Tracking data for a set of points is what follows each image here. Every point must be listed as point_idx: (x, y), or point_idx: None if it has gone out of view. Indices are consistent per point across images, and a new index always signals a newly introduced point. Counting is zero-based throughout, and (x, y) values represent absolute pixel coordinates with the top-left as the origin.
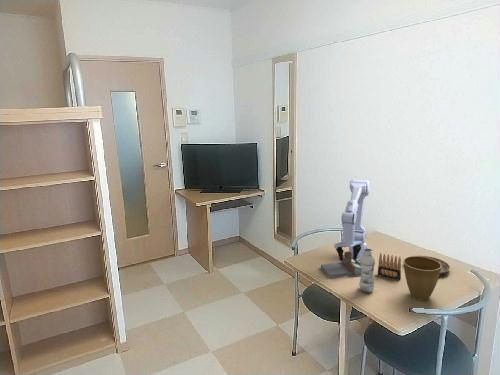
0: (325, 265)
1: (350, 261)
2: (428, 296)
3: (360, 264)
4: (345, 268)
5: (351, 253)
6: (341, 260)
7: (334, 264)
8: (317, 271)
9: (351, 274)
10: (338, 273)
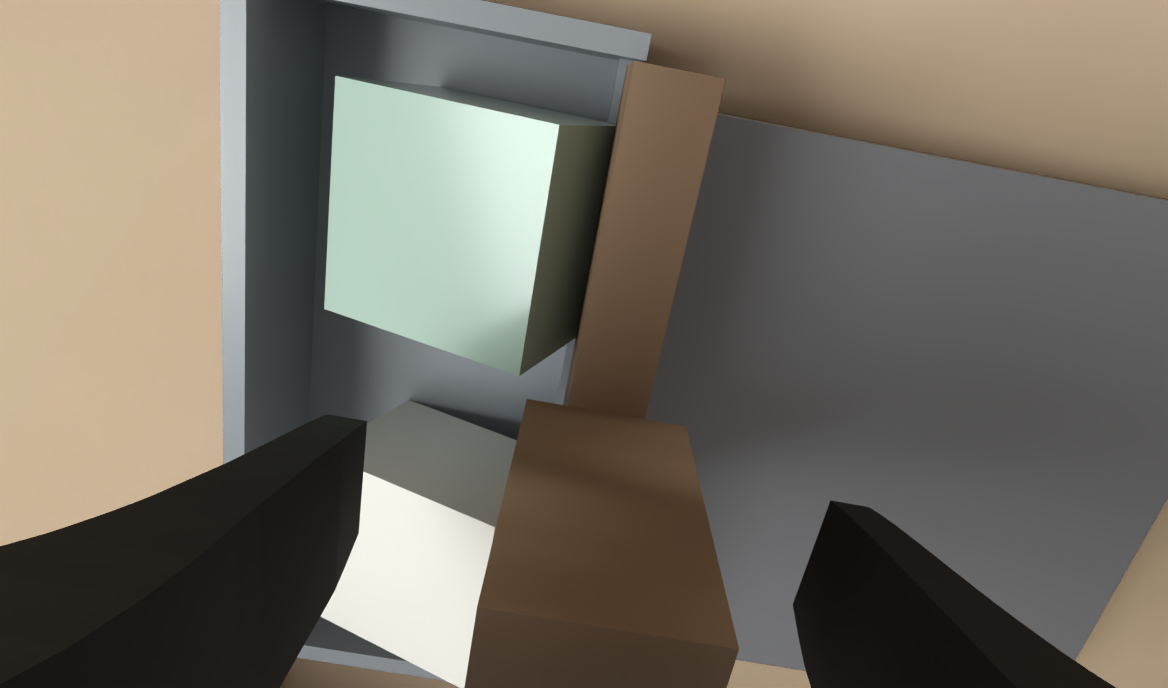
0: None
1: (563, 409)
2: None
3: (257, 306)
4: (705, 351)
5: (481, 618)
6: (887, 520)
7: (792, 605)
8: (1163, 570)
9: None
10: (1070, 197)
